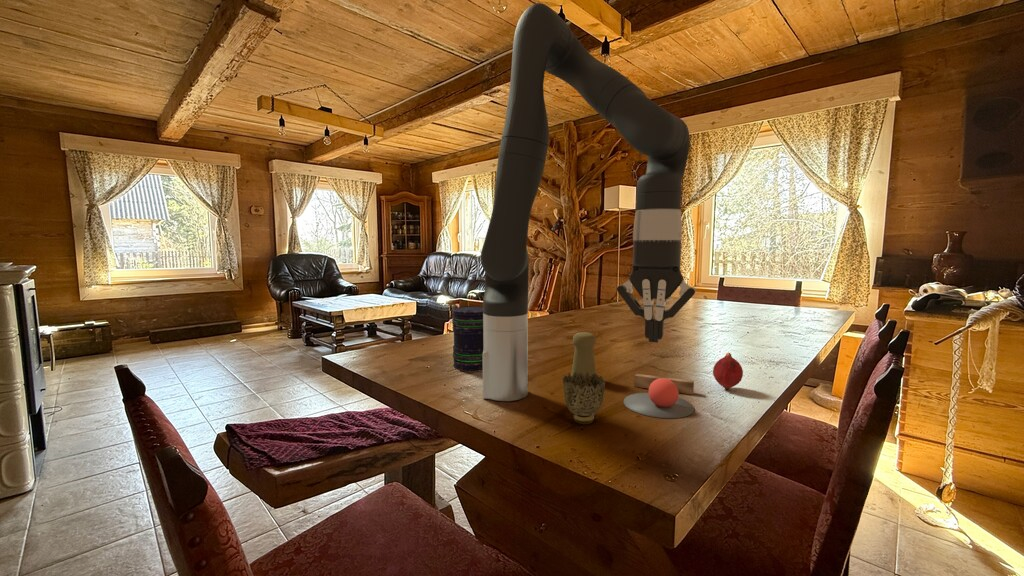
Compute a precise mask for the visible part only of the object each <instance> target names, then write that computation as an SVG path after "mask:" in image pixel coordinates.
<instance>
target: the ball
mask: <svg viewBox="0 0 1024 576" xmlns="http://www.w3.org/2000/svg"><path fill="white" fill-rule="evenodd" d="M647 393H649V397H650V399H651V401H652V402H653V403H654V404H655V405H657V406H659V407H670V406H672V405H673V404H675V402H676V401H677V399H678V397H679V394H680V393H678V389H677V386H676V385H675V384H674V383H673V382H672V381H671V380H669V379H665V378H659V379H656V380H654V381H653V382H652V383H651V384H650V386H649V389H648V392H647Z"/></svg>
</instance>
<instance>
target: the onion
mask: <svg viewBox="0 0 1024 576" xmlns="http://www.w3.org/2000/svg"><path fill="white" fill-rule="evenodd" d="M712 375H713V377H714V379H715V381H716V382H717V384H719V385H720V386H721V387H722V388H724V389H726V390H729V389H731V388H733V387H735V386H737V385H738V384H739V383H740V382H742V380H743V376H744V369H743V367H742V365H741V364H740V362H739V361H738V360H737V359H736V358H734V357H733V356H732V353H731V352H726V353H725V356H724V357H721V358H720V359H718V360H717V361H716V362H715V364H714V365H713V369H712Z"/></svg>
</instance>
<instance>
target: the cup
mask: <svg viewBox="0 0 1024 576" xmlns="http://www.w3.org/2000/svg"><path fill="white" fill-rule="evenodd" d="M589 375H590V374H589V373H588V372H587V373H586V374H585V376H584V375H583V374H582V373H581V372H579V373H578V374H577V373H576V372H575V373H574V375H573V376H571V374H570V373H568V375H565V374H563V377H562V383H563V386H562V387H563V393H564V400H565V404H566V407H567V409H568V410H569V411H570V412H571V413H572V418H573V421H574V422H575V423H577V424H580V425H589V424H591V423H592V422H594V419H595V417H594V415H595V414H597V413H598V412H599V411H600V410H601V407H602V405H603V401H604V393H605V387H606V378H605V379H604V377H603V375H598V374H597V372H596V373H594V374H593V375H591V376H589Z"/></svg>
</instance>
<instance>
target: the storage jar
mask: <svg viewBox="0 0 1024 576" xmlns="http://www.w3.org/2000/svg"><path fill="white" fill-rule="evenodd" d="M451 325H452V332H453V346H452V351H453V352H452V358H453V359H452V361H453V364H452V365H453V367H454V368H455V369H454V370H456V369H457V370H456V371H459V370H461V371H460V372H466V371H475V372H480V371H479V370H482V371H483V306H480V305H478V306H475V305H474V306H473V305H469V306H457V307H454V308H452V322H451Z"/></svg>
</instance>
